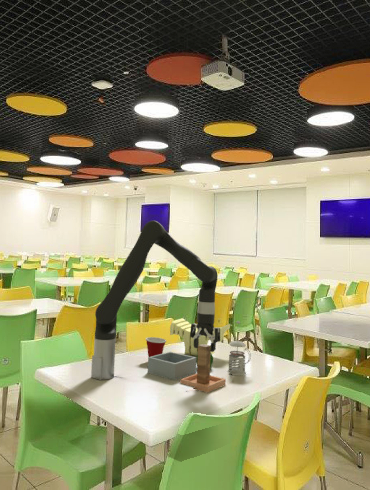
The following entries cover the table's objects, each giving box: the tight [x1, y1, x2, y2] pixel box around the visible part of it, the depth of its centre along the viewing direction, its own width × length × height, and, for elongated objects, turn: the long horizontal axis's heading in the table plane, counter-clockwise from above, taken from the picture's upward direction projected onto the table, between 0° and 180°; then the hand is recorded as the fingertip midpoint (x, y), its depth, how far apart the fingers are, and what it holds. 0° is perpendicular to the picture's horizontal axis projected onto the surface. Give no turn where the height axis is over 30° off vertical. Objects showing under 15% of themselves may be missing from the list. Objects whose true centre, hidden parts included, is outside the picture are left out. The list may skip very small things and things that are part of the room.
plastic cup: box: [145, 336, 167, 357], centre depth 211 cm, size 11×11×12 cm
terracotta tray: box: [180, 373, 227, 393], centre depth 176 cm, size 14×14×2 cm
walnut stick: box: [196, 344, 211, 385], centre depth 177 cm, size 4×4×16 cm
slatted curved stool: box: [169, 317, 231, 357], centre depth 232 cm, size 30×16×18 cm, turn 65°
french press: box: [226, 320, 252, 376], centre depth 197 cm, size 10×12×25 cm
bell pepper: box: [195, 354, 214, 370], centre depth 200 cm, size 8×8×10 cm
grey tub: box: [147, 351, 197, 381], centre depth 190 cm, size 16×16×8 cm
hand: (204, 349), depth 177 cm, fingers open, 8 cm apart
